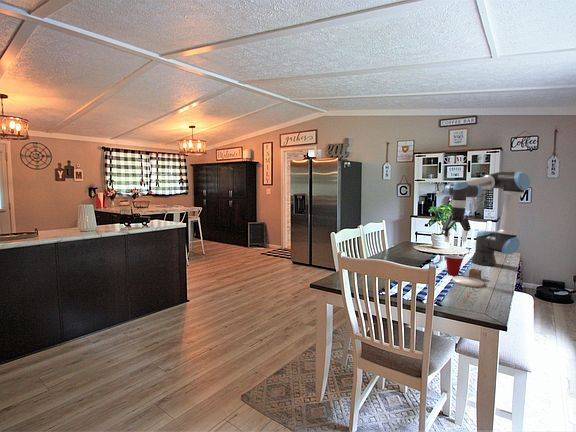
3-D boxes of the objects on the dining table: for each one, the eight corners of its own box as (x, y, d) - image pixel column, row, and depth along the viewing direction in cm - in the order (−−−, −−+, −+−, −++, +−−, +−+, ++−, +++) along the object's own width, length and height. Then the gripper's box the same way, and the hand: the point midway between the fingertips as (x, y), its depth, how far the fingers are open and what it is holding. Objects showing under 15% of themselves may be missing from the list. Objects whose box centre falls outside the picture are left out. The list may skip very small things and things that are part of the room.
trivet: (466, 277, 207) (467, 275, 207) (490, 285, 192) (490, 283, 192) (446, 279, 202) (446, 277, 202) (468, 288, 187) (468, 285, 187)
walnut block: (472, 276, 210) (472, 268, 210) (480, 278, 206) (481, 270, 206) (468, 277, 207) (469, 269, 206) (477, 279, 203) (478, 271, 203)
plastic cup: (461, 273, 216) (462, 254, 214) (463, 278, 206) (465, 258, 204) (442, 271, 219) (443, 253, 218) (444, 276, 209) (445, 256, 208)
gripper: (469, 206, 215) (465, 239, 217) (437, 206, 206) (434, 241, 209) (479, 207, 208) (475, 241, 210) (447, 207, 199) (443, 243, 202)
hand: (455, 241), depth 210 cm, fingers open, 13 cm apart
